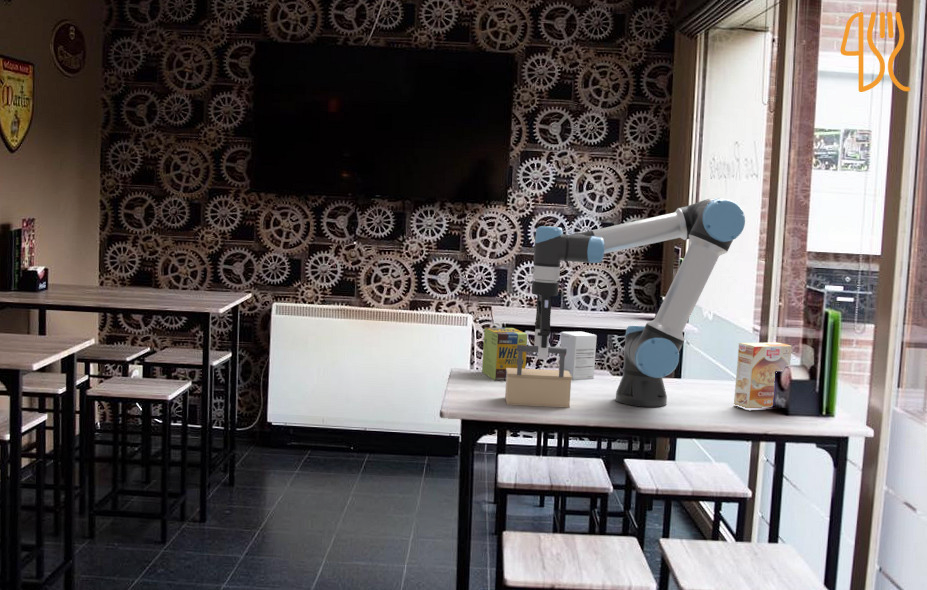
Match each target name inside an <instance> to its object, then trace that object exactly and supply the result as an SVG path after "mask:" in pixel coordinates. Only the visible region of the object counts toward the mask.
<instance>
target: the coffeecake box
mask: <svg viewBox="0 0 927 590" xmlns="http://www.w3.org/2000/svg"><path fill="white" fill-rule="evenodd" d="M792 347H793V346H792V345H790V344H787V343H783V342H782V343H781V342H774V341H773V342H739V343H738V351H737V364H736V374H735V386H734V387H735V388H734V397H733V398H734V399H733V405H734V404H735V405H739V406H742V407H745V408H762V407H771V406H772V405H773V398H774V381H775V371H781V370H783V368H784V367H785V366H786V365H790V366H791V359H792V358H791V357H792ZM776 373H777V372H776Z"/></svg>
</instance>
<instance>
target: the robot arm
mask: <svg viewBox="0 0 927 590" xmlns="http://www.w3.org/2000/svg"><path fill="white" fill-rule="evenodd" d="M745 224H746V216H745V213H744V211H743V209H742V208H741V206H740V205H739V204H738V203H737V202H735V201H733V200H731V199H727V198H725V197H719V198H707V199H704V200H701V201H698V202H696V203H692V204H689V205H685V206H682V207H677V209H676V210H675V211H674V212H670V213H665V214H661V215H657V216H653V217H647V218H643V219H642V218H641V219H638V220H634V221H629V222H625V223H624V222H623V223H621V224H616V225H611V226H607V227H602V228H598V229H593V230H589V231H584V232H579V233H578V232H575V233H572V234H564V232H563V228H562V227H558V226H545V225H541V226H538V227H537V228H536V230H535V239H534V251H533V252H534V253H533V268H531V269H530V271H531V273H532V279H533V281H532V282H531V294H532V295H535V296H537V300H536V314H535V322H534V326H535V327H534V328H535V331H534V343H533V344H534V345H533V346H538V352H537V360H548V358H549V353H548V347H550V346H549V343H550V342H549V341H550V335H551V313H552V305H553V304H552V301H551V300H550V297H556V296H558V295H559V287H560V283H558V281H560V273H561V262H573V263H574V262H575V263H589V264H600V263H602V262H603V261H604V260H603V259H604V257H605V255H604V254H609V253H610V254H611V253H614V252H618V251H623V250H628V249H632V248H637V247H642V246H647V245H651V244H656V243H661V242H664V241H671V240H676V239H682V240H684V241H686V240H689V241H690V245H689V247H688V249H687V251H686V253H685V255H684V257H683V259H682V262H681V263H680V265H679V268H678V269H677V272H676V274H675V276H674V278H673V280H672V282H671V284H670V286H669V288H668V291H667V293H666V295H665V297H664V299H663V300H662V302H661V305H660V306H659V310H658V312H657V313H656V315H655V318H654V319H653V320H650V321H647V322H646V324H645V326H644V325H629V326H627V327H626V329H625V334H624V338H625V339H624V341H625V342H624V354H623V355H624V357H623V371H622V376H621V378H620V379H621V380H620V382H619V385H618V386H617V389H616V392H615V401H616V402H618V403H621V404H624V405H628V406H635V407H644V408H645V407H647V408H657V407H663V406H666V405H667V401H668V400H667V399H668V395H667V391H666V387H665V384H664V379H663V378H664V377H666V376H669V375H671V374H672V373H673V372H674V371H675V370H676V368H678V364H679V362H680V351H681V349H682V346H683V345H684V342H685V338H684V335H683V332H684V329H685V327H686V326H687V323H688V321H689V319H690V317H691V315H692V313H693V311H694V309H695V307H696V305H697V304H698V303H697V302H698V301H699V298H700V297H701V294H702V293H703V291H704V288H705V286H706V285H707V282H708V279H709V278H710V276H711V274H712V272H713V270H714V268H715V266H716V264H717V261H718V259H719V257H720V256H722V255H725V254H727V253H728V251H729V249H730V247H731V245H732V243H733V241H734V240H736V239H737V238H738V237H739V236H740V235H741V234H742V232H743V231H744V228H745V226H746V225H745Z"/></svg>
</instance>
